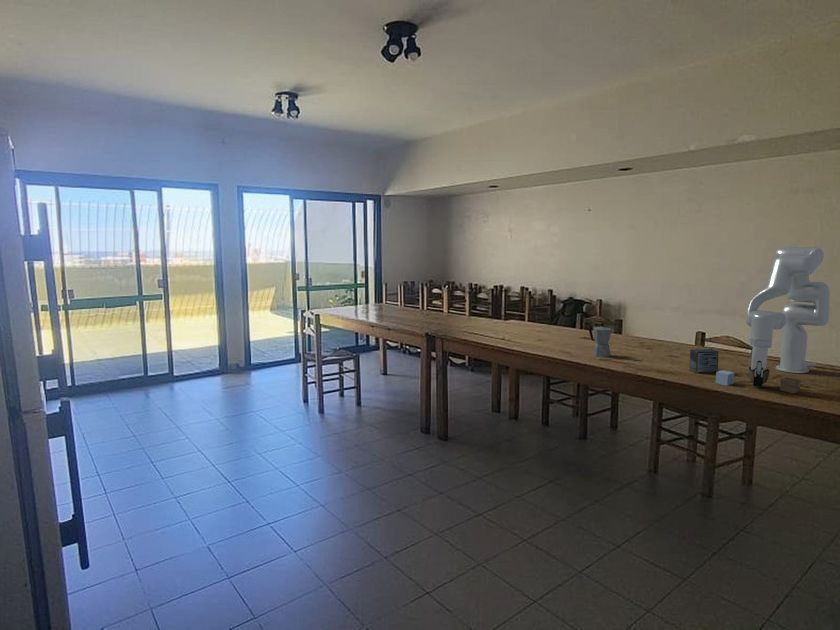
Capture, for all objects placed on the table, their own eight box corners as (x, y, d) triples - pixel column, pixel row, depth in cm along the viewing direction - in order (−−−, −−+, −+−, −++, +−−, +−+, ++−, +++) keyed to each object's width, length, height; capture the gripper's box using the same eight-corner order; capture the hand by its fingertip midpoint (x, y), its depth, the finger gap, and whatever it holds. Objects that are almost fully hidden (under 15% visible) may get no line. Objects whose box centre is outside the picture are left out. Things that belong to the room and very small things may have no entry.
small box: (710, 369, 245) (711, 348, 244) (718, 372, 239) (719, 351, 237) (688, 370, 245) (689, 348, 243) (696, 373, 238) (697, 351, 237)
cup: (763, 384, 218) (764, 366, 216) (771, 389, 210) (773, 371, 209) (744, 384, 219) (745, 366, 218) (752, 389, 212) (753, 370, 211)
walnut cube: (786, 388, 212) (787, 377, 211) (799, 391, 208) (800, 379, 207) (779, 390, 209) (780, 378, 209) (793, 393, 205) (794, 381, 204)
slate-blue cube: (722, 381, 225) (722, 370, 224) (733, 383, 220) (734, 372, 220) (715, 383, 222) (716, 371, 222) (727, 385, 218) (727, 374, 217)
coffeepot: (617, 356, 277) (618, 323, 275) (606, 358, 272) (607, 325, 270) (593, 351, 290) (594, 320, 287) (582, 353, 285) (583, 322, 282)
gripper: (750, 338, 221) (748, 377, 224) (749, 345, 207) (746, 387, 209) (771, 340, 217) (768, 379, 219) (771, 347, 203) (768, 389, 205)
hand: (758, 383), depth 214 cm, fingers open, 8 cm apart
